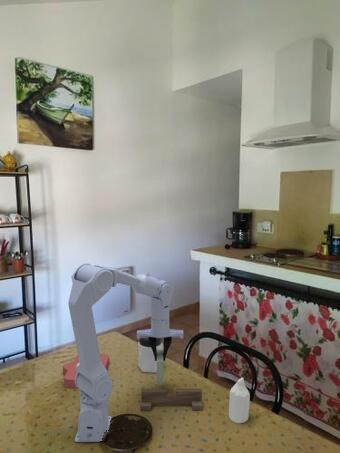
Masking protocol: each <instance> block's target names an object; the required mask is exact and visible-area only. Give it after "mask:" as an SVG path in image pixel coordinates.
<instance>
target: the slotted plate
mask: <svg viewBox="0 0 340 453" xmlns="http://www.w3.org/2000/svg"><path fill="white" fill-rule="evenodd" d="M163 350H164V346H163V347H157V372H156V386H164V361H163Z"/></svg>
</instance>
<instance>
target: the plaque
mask: <svg viewBox="0 0 340 453" xmlns="http://www.w3.org/2000/svg"><path fill="white" fill-rule="evenodd" d="M100 357H101V362H102V364H103V365H104V367H105V368H106V370H107V371H108V368H109V366H110V355H109V354H101V353H100ZM79 364H80V362H79V357H78V355H76V357H75V358H74V360H72V361H70V362H68V363H64V364H63V365H62V374H63V375H64V377H63V380H64V382H63V385H64V388H65V387H66V388H67V389H68V388H69V389H78V388H77V387H76V385H75V377H76V367H77V366H78V365H79Z"/></svg>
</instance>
